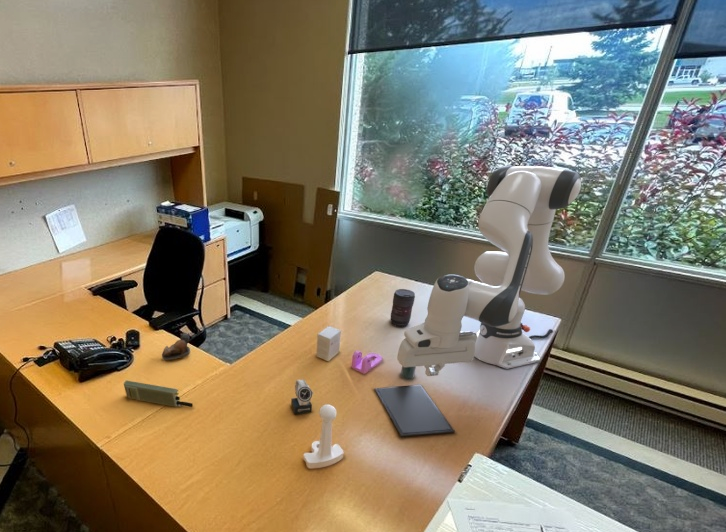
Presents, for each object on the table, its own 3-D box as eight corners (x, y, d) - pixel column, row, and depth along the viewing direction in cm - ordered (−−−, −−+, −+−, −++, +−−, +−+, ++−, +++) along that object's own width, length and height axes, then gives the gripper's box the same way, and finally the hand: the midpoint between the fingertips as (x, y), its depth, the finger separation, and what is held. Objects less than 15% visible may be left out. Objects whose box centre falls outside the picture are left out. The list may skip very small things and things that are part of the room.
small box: (327, 347, 166) (328, 325, 161) (339, 352, 163) (341, 330, 158) (315, 356, 162) (317, 333, 156) (328, 361, 158) (329, 338, 153)
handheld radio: (130, 393, 149) (194, 404, 142) (126, 399, 147) (190, 411, 139) (126, 378, 146) (192, 389, 138) (122, 384, 143) (188, 396, 136)
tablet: (420, 386, 143) (420, 384, 142) (454, 433, 123) (454, 430, 123) (374, 390, 142) (374, 388, 142) (401, 437, 123) (401, 435, 123)
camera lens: (412, 328, 175) (418, 296, 168) (393, 328, 175) (398, 297, 168) (405, 318, 182) (411, 287, 175) (386, 319, 182) (391, 288, 175)
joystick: (310, 471, 115) (313, 417, 105) (297, 451, 121) (299, 399, 111) (345, 460, 117) (351, 406, 107) (331, 441, 124) (336, 389, 114)
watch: (296, 418, 133) (297, 392, 127) (289, 402, 140) (290, 376, 134) (313, 416, 133) (315, 389, 128) (305, 399, 140) (306, 374, 135)
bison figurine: (163, 364, 163) (160, 343, 158) (161, 355, 169) (157, 334, 164) (193, 358, 166) (190, 337, 161) (189, 349, 172) (187, 328, 167)
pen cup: (410, 372, 150) (414, 351, 145) (415, 379, 146) (420, 358, 141) (398, 373, 150) (402, 352, 145) (403, 380, 146) (407, 359, 141)
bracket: (364, 375, 150) (366, 359, 146) (351, 368, 154) (352, 352, 150) (384, 360, 157) (386, 345, 153) (371, 354, 161) (373, 339, 157)
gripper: (472, 324, 114) (461, 365, 121) (398, 330, 114) (392, 371, 121) (485, 336, 109) (473, 378, 116) (408, 343, 109) (401, 384, 116)
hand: (431, 374), depth 118 cm, fingers closed
